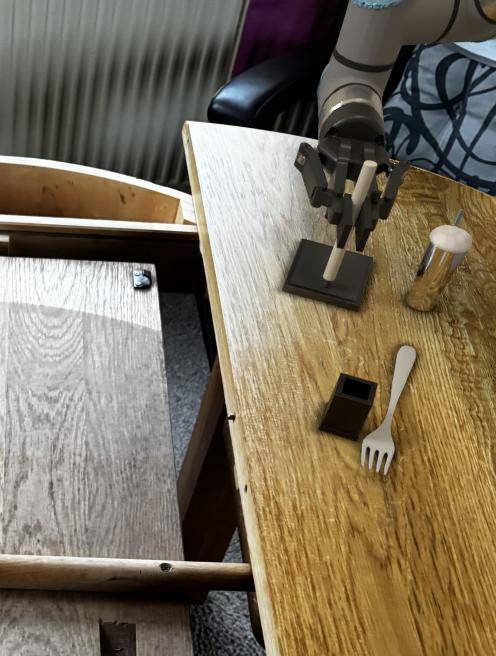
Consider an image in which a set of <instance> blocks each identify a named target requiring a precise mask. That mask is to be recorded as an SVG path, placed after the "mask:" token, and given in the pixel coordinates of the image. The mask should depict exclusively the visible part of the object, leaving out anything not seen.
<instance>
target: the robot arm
mask: <svg viewBox="0 0 496 656" xmlns="http://www.w3.org/2000/svg"><path fill="white" fill-rule="evenodd" d="M493 40H494V41H495V40H496V0H349V1H348V4H347V8H346V12H345V15H344V18H343V21H342V26H341V28H340V32H339V36H338V38H337V42H336V44H335V46H334V50H333V51H332V54H331V56H330V60H329V63H328V64H327V65H326V66H325V68H324V69H323V71H322V73H321V76H320V80H319V85H318V87H317V92H316V96H317V97H316V98H317V106H318V115H317V116H318V129H317V130H318V138H317V146H316V147H313V146H312V145H311V144H310V143H308V142H306V141H303V142H300V143H299V146H298V150H297V153H296V156H295V159H294V163H293V167H294V168H295V169H296V170H297V171H299V173H300V175H301V177H302V181H303V185H304V188H305V191H306V194H307V197H308V202H309V204H310V206H311V207H312V208H314V209H321V208H322V207H324V208H326V210H325V213H324V216H323V217H324V219H326V221H327V222H328V224H329V225H333V226H335V229H336V231H335V232H336V236H335V237H336V239H337V248H340V249H344V247H345V244H346V242H347V239H348V237H349V234H350V231H351V229H352V226H353V217H352V199H351V197H352V195H353V193H348V192H346V183H347V181H351V182H352V183H353V184H352V185H353V189H355V186H356V184H357V181H358V178H359V175H360V173H361V170H362V167H363V164H364V162H365V161H374V162H376V163H377V168H376V171H375V173H374V176H373V179H372V181H371V184H370V187H369V189H368V192H367V195H366V197H365V200H364V202H363V205H362V208H361V211H360V213H359V216H358V219H357V221H356V224H355V227H354V242H355V243H354V244H355V252H356V253H361V254H363V252H364V250H365V248H366V245H367V244H368V240H369V238H370V236H371V233H374V231H375V230H376V228H377V225H378V222H379V220H380V221H386V220H388V219H389V217H390V214H391V212H392V210H393V207H394V204H395V202H396V199H397V198H398V193H399V190H400V187H402V185H403V184H404V182H405V181H406V177H407V175H408V173H409V170H410V168H411V165H412V162H411V161H410V160H408V159H401V160H399V161H396V160H394V161H391V160H390V159H391V157H390V153H389V152H388V151H386V135H385V134H386V133H385V121H384V110H383V96H384V92H385V89H386V87H387V85H388V81H389V79H390V76H391V73H392V70H393V68H394V67H395V65H396V62H397V59H398V56H399V53H400V51H401V49H402V47H403V46H415V45H431V44H455V43H474V44H481V43H485V42H488V41H493ZM383 173H384V177H385V178H386V179H385V181H384V183H385V184H386V185H385V187H384V190H383V189H382V190H381V189H379V184H378V179H377V177H378V176H379V175H381V174H383ZM326 174H328V175H329V181H328V179H327V176H326Z"/></svg>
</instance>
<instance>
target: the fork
mask: <svg viewBox="0 0 496 656" xmlns="http://www.w3.org/2000/svg"><path fill="white" fill-rule="evenodd" d="M416 354H417V352H416V349H415V348H414V347H413V346H410V345H403V346H401V347H400V348H399V350H398V351H397V353H396V359H395V365H394V371H393V377H392V382H391V389H390V399H389V404H388V408H387V412H386V415H385V417H384V419H383V421H382V423H381V424H380V425H379V426H378V427H377V428H376V429H375V430H373V431H372V432H370V433H369V434H367V435H366V436H365V437H364V438H363V441H362V444H361V456H360V457H361V459H360V461H361V467H362V468H363V467H364V466H365V463H366V455H367V449H369V458H368V470H371V469H372V468H373V463H374V459H375V454H376V451H377V452H378V456H377V462H376V470H375V471H376V473H379V472H380V469H381V467H382V463H383V458H384V456H385V454H386V455H387V458H386V462H385V464H384V468H383V475H384V476H387V473H388V471H389V468H390V465H391V464H392V463H391V462H392V460H393V457H394V454H395V450H396V449H395V443H394V440H393V436H392V432H391V431H392V430H391V427H392V421H393V417H394V414H395V410H396V407H397V404H398V401H399V398H400V396H401V394H402V391H403V390H404V387H405V385H406V383H407V380H408V378H409V375H410V373H411V371H412V368H413V366H414V364H415V361H416V358H417V355H416Z"/></svg>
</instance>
